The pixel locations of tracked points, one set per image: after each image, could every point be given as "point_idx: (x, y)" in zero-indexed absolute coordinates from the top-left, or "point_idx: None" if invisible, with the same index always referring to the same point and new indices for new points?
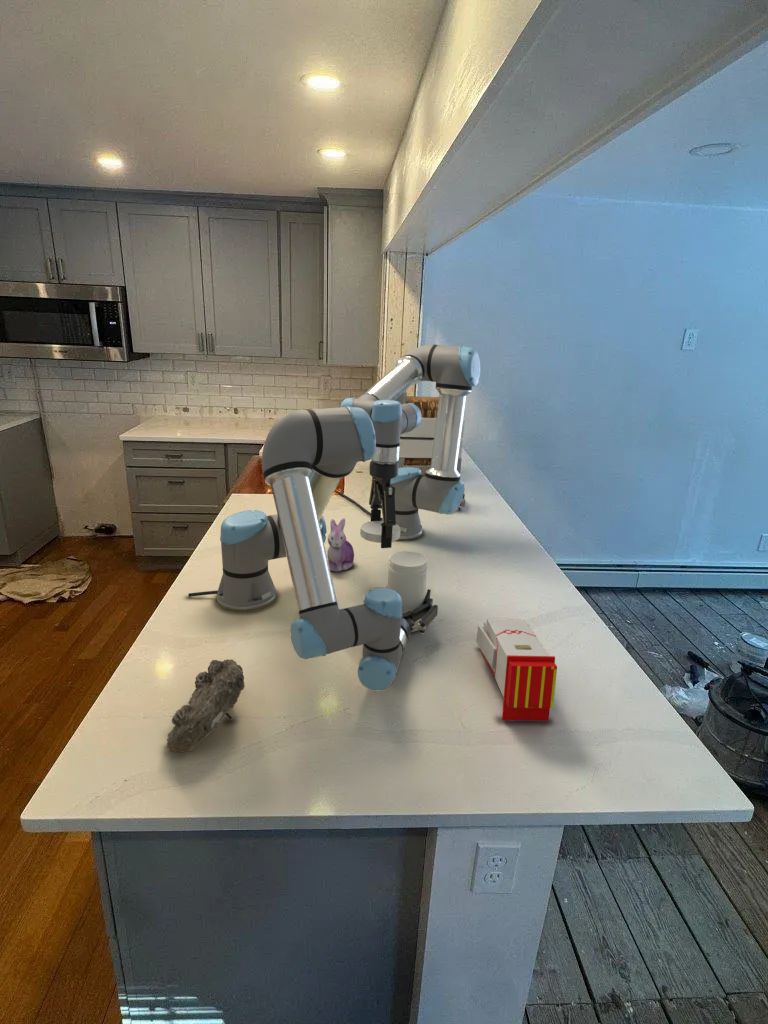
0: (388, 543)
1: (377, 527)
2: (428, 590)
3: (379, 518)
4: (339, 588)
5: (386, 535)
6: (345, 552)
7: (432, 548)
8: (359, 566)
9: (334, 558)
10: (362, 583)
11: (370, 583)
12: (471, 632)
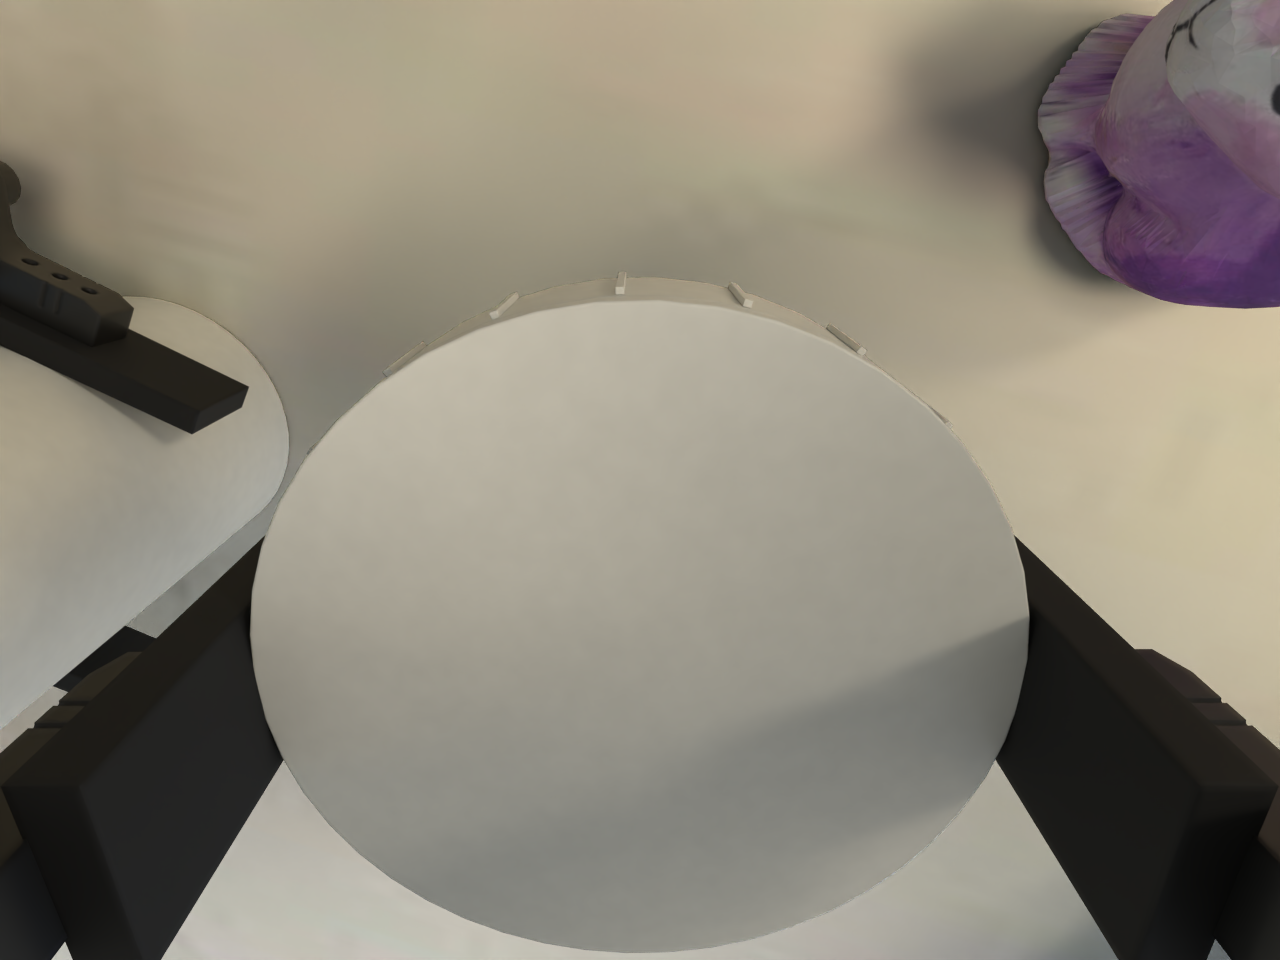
0: None
1: (660, 640)
2: None
3: (1031, 786)
4: (726, 55)
5: (84, 691)
6: (1169, 191)
7: None
8: (1070, 331)
9: (1132, 49)
10: (766, 281)
11: None
12: None
